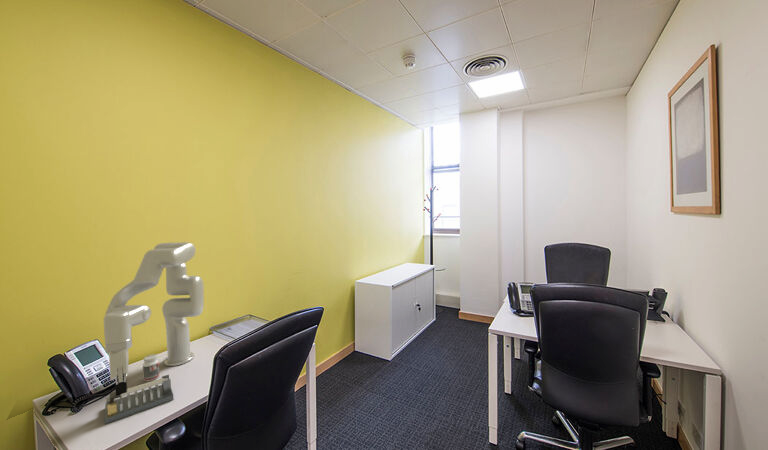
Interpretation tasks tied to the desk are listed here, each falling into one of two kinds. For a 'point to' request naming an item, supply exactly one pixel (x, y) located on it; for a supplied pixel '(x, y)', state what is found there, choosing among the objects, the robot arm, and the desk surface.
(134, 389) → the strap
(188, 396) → the desk surface
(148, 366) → the pill bottle
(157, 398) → the grey slotted rack
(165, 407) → the desk surface
